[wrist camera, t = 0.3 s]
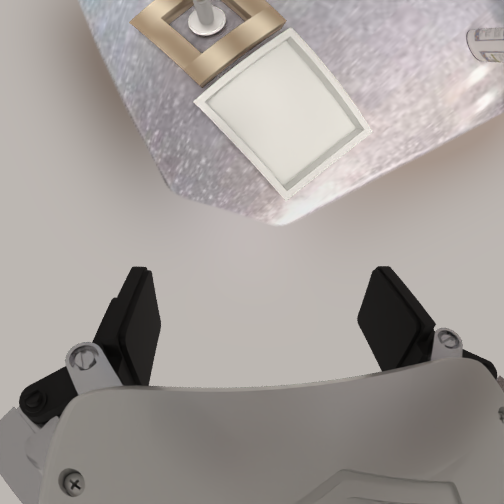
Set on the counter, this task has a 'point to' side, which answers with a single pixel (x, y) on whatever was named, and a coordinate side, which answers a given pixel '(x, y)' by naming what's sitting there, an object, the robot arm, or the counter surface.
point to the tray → (285, 113)
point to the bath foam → (487, 44)
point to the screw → (206, 18)
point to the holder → (219, 54)
